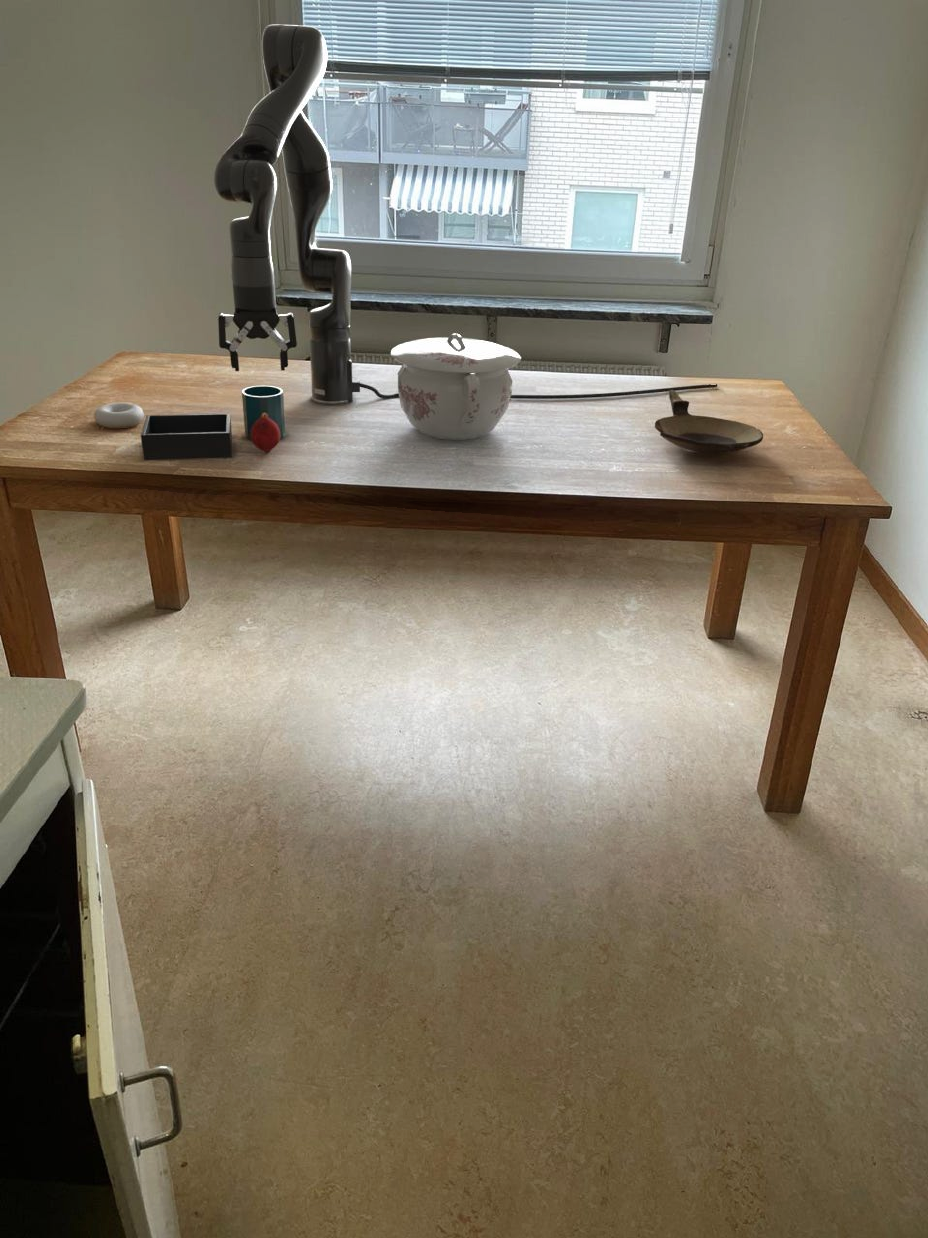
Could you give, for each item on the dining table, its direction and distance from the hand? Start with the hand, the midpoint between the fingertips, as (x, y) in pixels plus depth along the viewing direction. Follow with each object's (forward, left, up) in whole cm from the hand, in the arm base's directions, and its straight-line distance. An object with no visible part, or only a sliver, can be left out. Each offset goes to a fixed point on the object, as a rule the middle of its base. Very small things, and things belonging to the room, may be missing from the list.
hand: (260, 369), depth 171 cm
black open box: (+15, -3, -16) cm, 22 cm away
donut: (+30, -20, -16) cm, 40 cm away
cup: (0, -9, -16) cm, 19 cm away
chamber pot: (-40, -9, -16) cm, 44 cm away
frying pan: (-93, +5, -16) cm, 95 cm away
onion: (0, +1, -16) cm, 16 cm away
